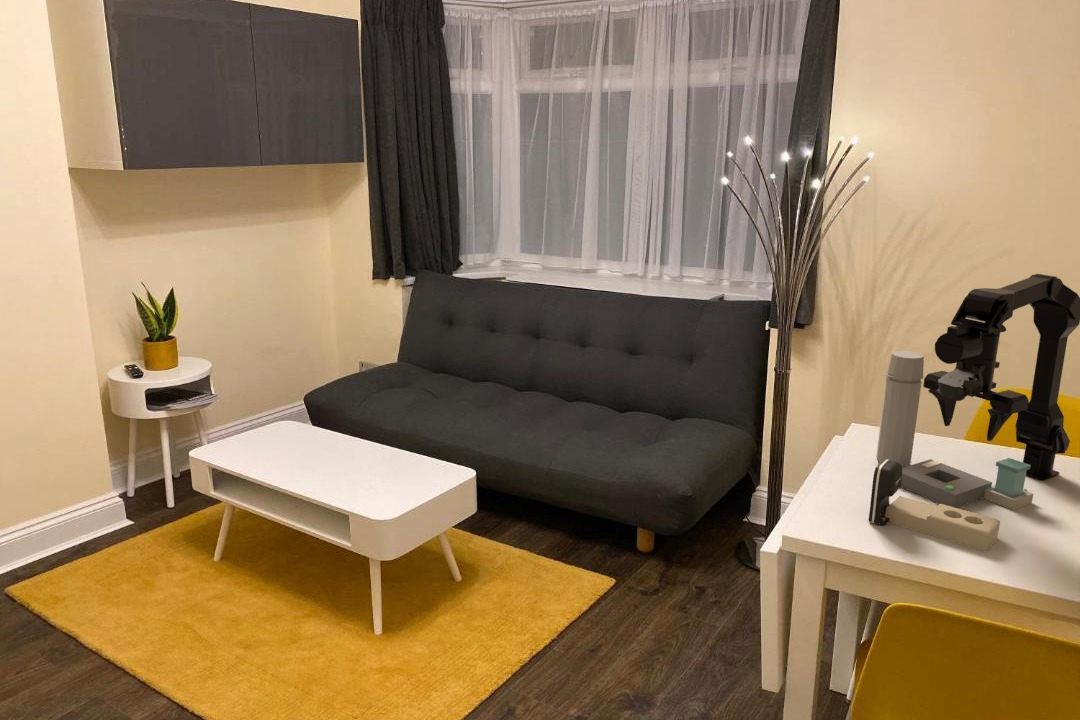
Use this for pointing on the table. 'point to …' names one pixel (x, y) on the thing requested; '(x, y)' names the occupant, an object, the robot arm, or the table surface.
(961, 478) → the port panel
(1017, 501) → the beige frame with handle
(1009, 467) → the plug
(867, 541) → the table surface
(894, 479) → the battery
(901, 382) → the water bottle
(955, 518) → the electrical outlet
